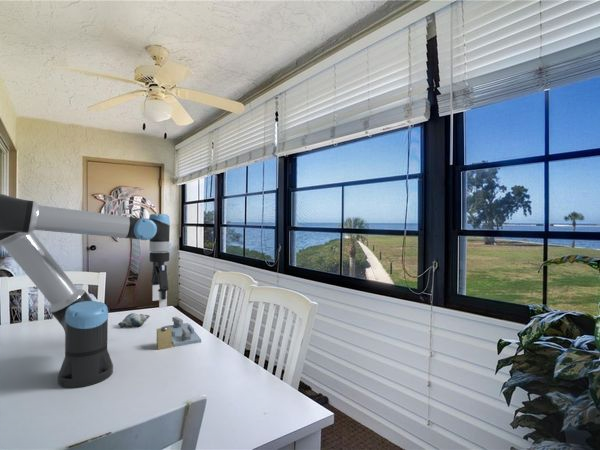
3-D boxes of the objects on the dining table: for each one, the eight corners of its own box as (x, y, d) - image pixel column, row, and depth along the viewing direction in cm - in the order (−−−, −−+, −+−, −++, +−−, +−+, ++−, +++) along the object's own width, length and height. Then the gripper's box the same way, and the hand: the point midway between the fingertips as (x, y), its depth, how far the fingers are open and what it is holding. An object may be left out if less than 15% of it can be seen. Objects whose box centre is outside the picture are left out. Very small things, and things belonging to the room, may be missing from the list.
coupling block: (171, 347, 135) (171, 328, 135) (158, 350, 132) (158, 330, 132) (169, 343, 139) (169, 325, 139) (156, 345, 137) (156, 326, 137)
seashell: (125, 327, 164) (148, 328, 163) (116, 325, 157) (140, 326, 156) (128, 314, 166) (151, 315, 165) (119, 311, 160) (143, 312, 158)
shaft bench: (201, 342, 142) (201, 330, 141) (173, 346, 136) (174, 334, 136) (187, 325, 164) (187, 315, 164) (163, 328, 158) (164, 318, 158)
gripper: (176, 254, 128) (176, 309, 128) (162, 249, 149) (162, 296, 149) (155, 255, 124) (155, 312, 124) (144, 249, 144) (144, 298, 145)
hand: (159, 303), depth 136 cm, fingers open, 13 cm apart
